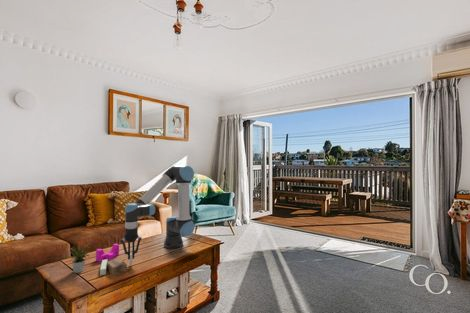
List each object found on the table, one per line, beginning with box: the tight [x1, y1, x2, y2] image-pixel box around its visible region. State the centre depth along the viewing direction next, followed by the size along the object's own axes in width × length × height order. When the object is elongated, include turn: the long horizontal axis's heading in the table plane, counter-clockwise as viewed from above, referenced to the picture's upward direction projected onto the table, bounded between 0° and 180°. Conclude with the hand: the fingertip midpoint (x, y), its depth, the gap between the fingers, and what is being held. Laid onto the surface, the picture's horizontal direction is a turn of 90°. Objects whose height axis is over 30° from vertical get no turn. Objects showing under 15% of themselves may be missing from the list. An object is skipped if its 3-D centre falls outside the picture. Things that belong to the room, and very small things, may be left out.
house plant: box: [67, 244, 90, 274], centre depth 155 cm, size 14×14×16 cm
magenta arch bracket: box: [95, 243, 120, 263], centre depth 178 cm, size 15×6×8 cm, turn 151°
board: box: [99, 259, 109, 276], centre depth 158 cm, size 3×16×4 cm, turn 23°
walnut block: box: [106, 258, 128, 276], centre depth 157 cm, size 8×12×5 cm, turn 42°
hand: (131, 264), depth 165 cm, fingers closed
